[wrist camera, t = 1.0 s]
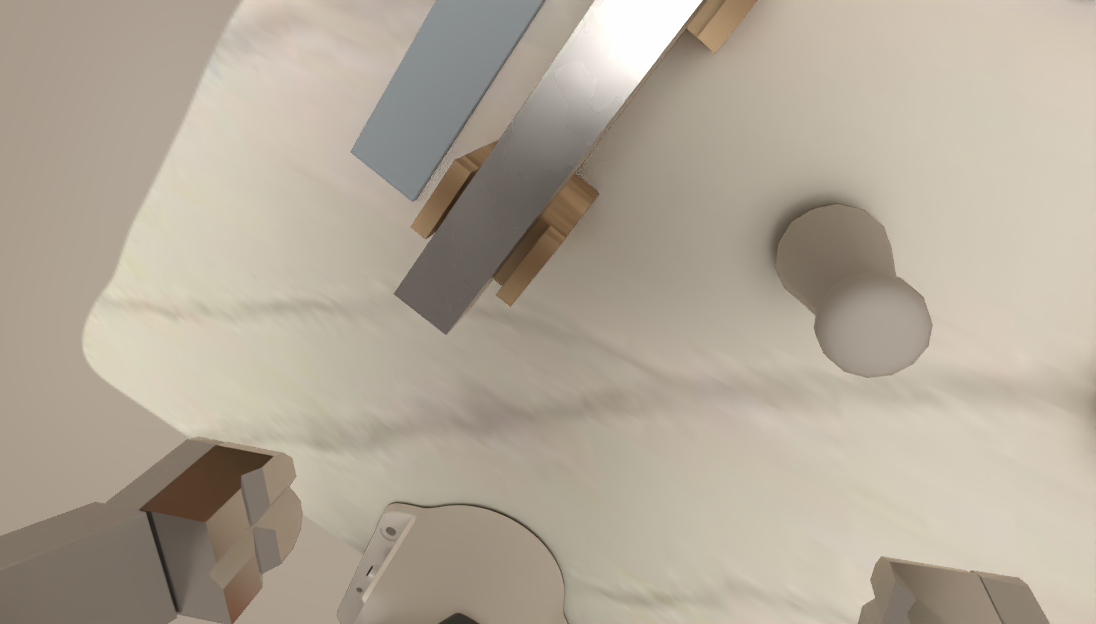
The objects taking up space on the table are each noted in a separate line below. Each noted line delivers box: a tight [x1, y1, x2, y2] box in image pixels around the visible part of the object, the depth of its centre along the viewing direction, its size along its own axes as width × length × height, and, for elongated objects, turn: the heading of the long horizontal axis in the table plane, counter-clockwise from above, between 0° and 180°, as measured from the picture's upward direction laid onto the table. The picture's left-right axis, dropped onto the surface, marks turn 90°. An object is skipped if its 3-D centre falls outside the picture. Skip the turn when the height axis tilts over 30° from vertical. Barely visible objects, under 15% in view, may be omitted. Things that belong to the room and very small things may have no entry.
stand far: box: [411, 140, 599, 307], centre depth 35 cm, size 4×6×11 cm, turn 53°
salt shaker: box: [775, 204, 932, 378], centre depth 31 cm, size 6×6×13 cm
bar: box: [394, 0, 707, 335], centre depth 26 cm, size 22×3×4 cm, turn 143°
